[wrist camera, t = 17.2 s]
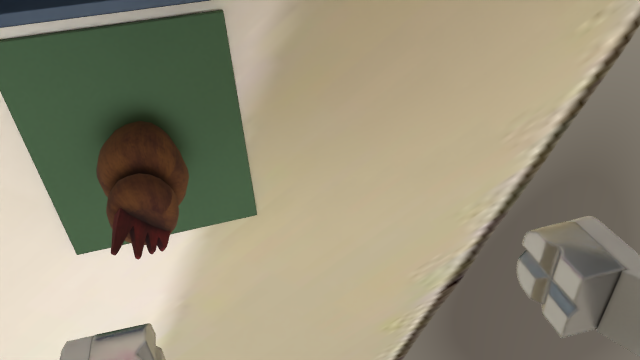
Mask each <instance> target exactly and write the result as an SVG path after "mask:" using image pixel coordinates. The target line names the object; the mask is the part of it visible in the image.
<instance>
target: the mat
mask: <svg viewBox="0 0 640 360" xmlns="http://www.w3.org/2000/svg"><path fill="white" fill-rule="evenodd" d="M0 91H1V94H2V96H3V98H4V100H5V102H6V104H7V106H8V109H9V111H10V113H11V115H12V117H13V119H14V121H15V123H16V126H17V128H18V130H19V132H20V134H21V136H22V138H23V141H24V143H25V145H26V147H27V149H28V151H29V153H30V156H31V158H32V160H33V162H34V164H35V166H36V168H37V170H38V173H39V175H40V177H41V179H42V181H43V183H44V185H45V188H46V190H47V192H48V194H49V196H50V198H51V200H52V202H53V205H54V207H55V209H56V211H57V213H58V215H59V217H60V220H61V222H62V224H63V226H64V228H65V230H66V232H67V234H68V237H69V239H70V241H71V243H72V245H73V247H74V249H75V252H76V254H77V255H79V254H84V253H88V252H93V251H97V250H102V249H106V248H111V244H112V228H111V226H110V223H109V220H108V217H107V214H106V206H107V201H108V197H107V196H106V195H105V193H104V191H103V189H102V187H101V185H100V183H99V180H98V178H97V173H96V169H97V163H98V157H99V153H100V150H101V148H102V146H103V144H104V143H105V142H106V141H107V139H108V138H109V137H110V136H111V135H112V134H113V133H114V131H115V130H117V129H119V128H120V127H122V126H124V125H126V124H129V123H133V122H137V121H144V122H150V123H153V124H154V125H156V126H158V127H160V128H161V129H162V130H163V131H164V132H166V133H167V134H168V135H169V137H170V138H171V140H172V141H173V142H174V144H175V145H176V147H177V148H178V150H179V151H180V153H181V156H182V158H183V160H184V162H185V164H186V166H187V168H188V173H189V179H188V185H187V190H186V195H185V197H184V199H183V201H182V202H181V203H180V205H179V206H178V207H179V217H178V221H177V225H176V227H175V229H174V230H173V231H172V233H171V234H174V233H178V232H183V231H187V230H192V229H196V228H201V227H205V226H210V225H214V224H219V223H223V222H228V221H232V220H237V219H241V218H246V217H250V216H254V215H257V211H256V205H255V199H254V193H253V187H252V181H251V175H250V169H249V163H248V157H247V151H246V145H245V139H244V133H243V127H242V121H241V115H240V109H239V103H238V97H237V91H236V85H235V79H234V73H233V67H232V61H231V55H230V49H229V43H228V37H227V31H226V25H225V19H224V13H223V10H217V11H210V12H202V13H195V14H187V15H180V16H173V17H165V18H158V19H151V20H143V21H136V22H128V23H121V24H114V25H106V26H99V27H91V28H84V29H77V30H69V31H62V32H55V33H47V34H40V35H32V36H25V37H18V38H10V39H3V40H0ZM124 244H129V242H126V241H125V240H124V242H123V244H122V245H124Z"/></svg>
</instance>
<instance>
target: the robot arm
mask: <svg viewBox="0 0 640 360" xmlns="http://www.w3.org/2000/svg"><path fill="white" fill-rule="evenodd" d="M522 244H523V246H524V247H525V249H526V251H525V252H524V253H523V254H522V255H521V256H520V257H519V258H518V263H517V268H516V271H517V276H518V280H519V283H520V285H521V287H522V289H523V291H524V292H525V293H526V294H527V296H528V297H529V298H530V299H532V300H534V301H536V302H538V303H540V304H542V315H543V316H544V317H545V318H546V319H547V321H548V322H549V323H550V324H551V326H552V327H553V328H554V329H555V331H556V332H557V333H558V334H559V335H560V337H561V338H563V337H568V336H571V335H575V334H579V333H583V332H587V331H591V330H595V329H597V332H599V333H600V334H602V335H604V336H605V337H607V338H609V339H611V340H612V341H614V342H615V343H617V344H619V345H620V346H622V347H624V348H625V349H627V350H629V351H630V352H632V353H634V354H635V355H637V356H639V357H640V255H639V254H638V253H637V252H635V251H634V250H633V249H632V248H631V247H630V246H628V245H627V244H626V243H625V242H624V241H623V240H621V239H620V238H619V237H618V236H617V235H616V234H615V233H613V232H612V231H611V230H610V229H609V228H607V227H606V226H605V225H604V224H603V223H602V222H601V221H600V220H598V219H597V218H595V217H592V216H587V217H582V218H579V219H574V220H570V221H567V222H566V221H565V222H561V223H557V224H553V225H550V226H546V227H542V228H538V229H534V230H530V231H528V232H527V233H526V234H525V235H524V238H523V242H522ZM60 360H165V357H164V354H163V351H162V349H161V348H159V347H157V346H156V334H155V332H154V330H153V328H152V325H151V324H144V325H139V326H134V327H130V328H125V329H121V330H116V331H111V332H107V333H102V334H97V335H94V336H90V337H85V338H81V339H76V340H72V341H67V342H66V344H65V345H64V347H63V349H62V351H61V356H60Z"/></svg>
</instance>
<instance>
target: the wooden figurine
mask: <svg viewBox="0 0 640 360" xmlns="http://www.w3.org/2000/svg"><path fill="white" fill-rule="evenodd" d="M96 173H97V178H98V180H99V183H100V185H101V187H102V189H103V191H104V193H105V195H106V196H107V197H108V201H107V206H106V214H107V217H108V220H109V223H110V226H111V228H112V244H111V254H113V255H116V254H117V253H118V251H119V249H120V248H121V246H122V244H123V242H124V240H125V241H126V242H129V243H132V246H133V250H134V255H135V258H136V259H140V258H141V255H142V251H143V247H144V245H147V248H148V251H149V253H150V254H153V253H154V252H155V251H156V246H158V248H159V249H160V251H164V250H165V248H166V247H167V244H168V240H169V236H170V234H171V233H172V231H173V230H174V229H175V227H176V225H177V221H178V217H179V207H178V206H179V205H180V203H181V202H182V201H183V199H184V197H185V195H186V190H187V185H188V179H189V173H188V168H187V166H186V164H185V162H184V160H183V158H182V156H181V153H180V151H179V150H178V148H177V147H176V145H175V144H174V142H173V141H172V140H171V138H170V137H169V135H168V134H167V133H166V132H164V131H163V130H162V129H161V128H160V127H158V126H156V125H154V124H153V123H150V122H144V121H137V122H133V123H129V124H126V125H124V126H122V127H120V128H119V129H117V130H115V131H114V133H113V134H112V135H111V136H110V137H109V138H108V139H107V141H106V142H105V143H104V144H103V146H102V148H101V150H100V153H99V157H98V163H97V169H96Z"/></svg>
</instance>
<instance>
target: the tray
mask: <svg viewBox="0 0 640 360" xmlns="http://www.w3.org/2000/svg"><path fill="white" fill-rule="evenodd" d="M201 1H209V0H0V28H3V27H10V26H18V25H26V24H33V23H41V22H49V21H56V20H64V19H72V18H79V17H87V16H94V15H102V14H110V13H117V12H125V11H133V10H140V9H148V8H156V7H163V6H171V5H179V4H186V3H194V2H201Z"/></svg>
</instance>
